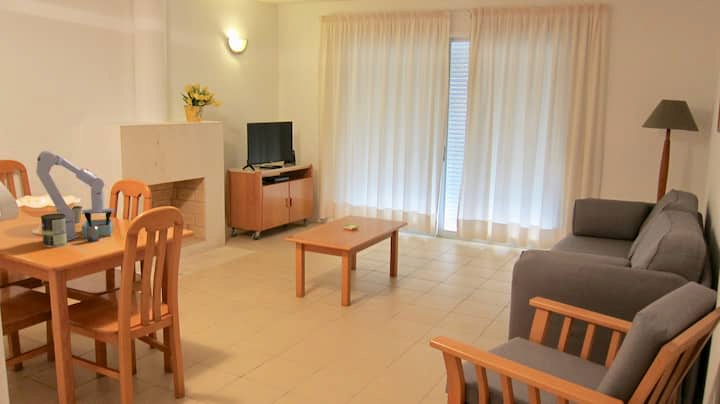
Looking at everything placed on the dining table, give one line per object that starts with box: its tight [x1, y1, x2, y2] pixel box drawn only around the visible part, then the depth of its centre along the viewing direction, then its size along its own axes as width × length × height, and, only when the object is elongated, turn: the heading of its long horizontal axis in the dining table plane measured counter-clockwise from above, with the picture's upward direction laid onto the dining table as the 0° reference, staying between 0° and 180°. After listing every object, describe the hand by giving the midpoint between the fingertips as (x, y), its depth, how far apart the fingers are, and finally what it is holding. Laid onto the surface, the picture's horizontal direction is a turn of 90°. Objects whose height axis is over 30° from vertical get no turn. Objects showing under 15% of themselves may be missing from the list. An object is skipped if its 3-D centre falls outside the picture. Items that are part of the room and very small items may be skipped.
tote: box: [81, 218, 114, 239], centre depth 301 cm, size 17×13×6 cm
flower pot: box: [71, 205, 83, 224], centre depth 325 cm, size 9×9×9 cm
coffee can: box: [40, 213, 68, 248], centre depth 275 cm, size 10×10×14 cm
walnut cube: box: [93, 223, 105, 226], centre depth 297 cm, size 5×5×5 cm
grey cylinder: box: [86, 226, 100, 243], centre depth 284 cm, size 5×5×7 cm
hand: (99, 227), depth 297 cm, fingers open, 7 cm apart
